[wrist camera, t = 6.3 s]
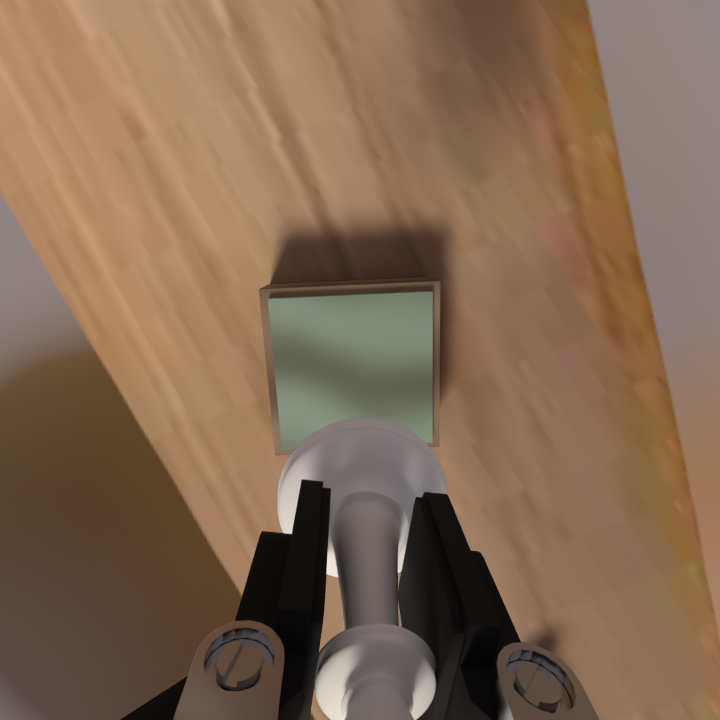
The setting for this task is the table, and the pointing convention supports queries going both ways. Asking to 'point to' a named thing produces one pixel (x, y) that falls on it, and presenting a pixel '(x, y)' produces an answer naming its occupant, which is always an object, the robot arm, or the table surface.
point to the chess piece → (367, 563)
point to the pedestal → (352, 355)
